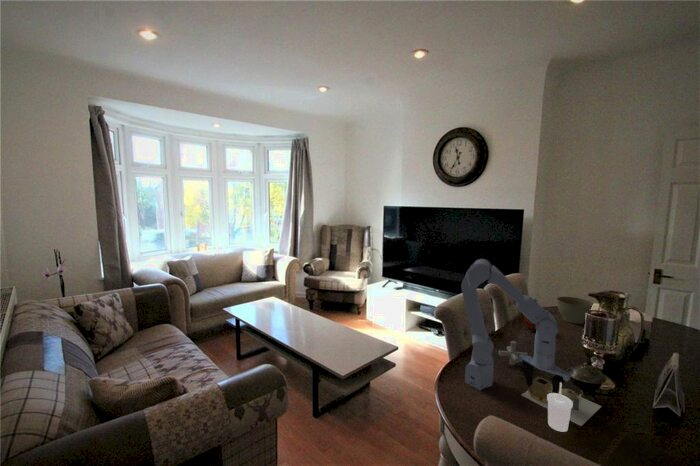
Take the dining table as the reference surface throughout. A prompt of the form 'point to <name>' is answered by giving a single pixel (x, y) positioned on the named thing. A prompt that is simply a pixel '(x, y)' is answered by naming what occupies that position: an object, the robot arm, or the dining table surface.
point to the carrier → (574, 406)
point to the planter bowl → (573, 309)
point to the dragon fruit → (529, 324)
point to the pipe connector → (512, 353)
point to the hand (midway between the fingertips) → (541, 390)
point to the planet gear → (540, 389)
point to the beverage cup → (559, 410)
